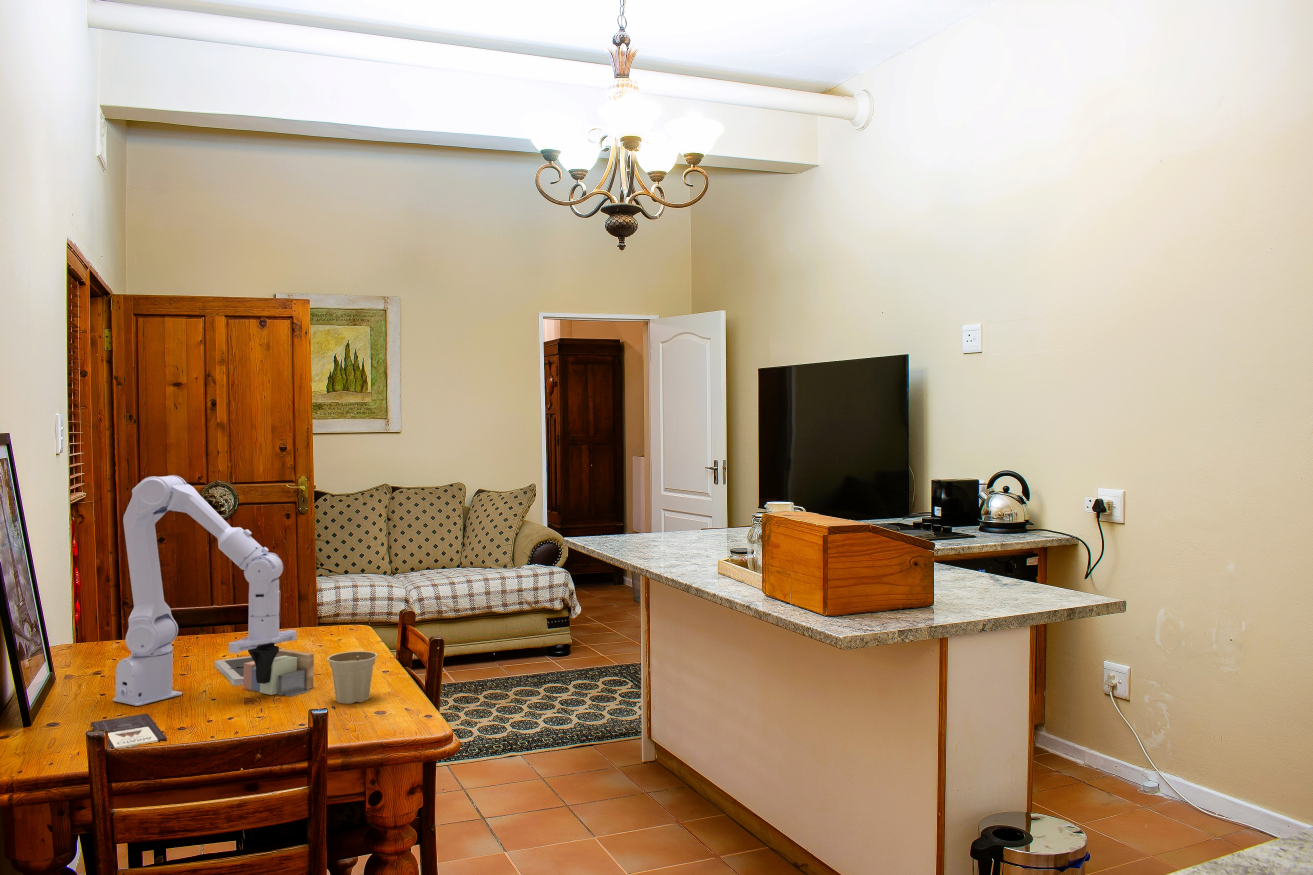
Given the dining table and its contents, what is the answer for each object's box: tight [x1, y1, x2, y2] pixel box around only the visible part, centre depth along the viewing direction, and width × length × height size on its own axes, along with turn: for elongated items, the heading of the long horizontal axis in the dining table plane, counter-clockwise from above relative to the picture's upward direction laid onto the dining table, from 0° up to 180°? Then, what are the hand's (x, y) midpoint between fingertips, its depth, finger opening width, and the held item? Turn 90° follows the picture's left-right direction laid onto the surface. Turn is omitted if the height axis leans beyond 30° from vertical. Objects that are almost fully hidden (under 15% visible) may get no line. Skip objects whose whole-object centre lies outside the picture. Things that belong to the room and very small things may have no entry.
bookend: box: [278, 669, 312, 698], centre depth 185 cm, size 6×3×4 cm, turn 152°
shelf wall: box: [275, 648, 315, 689], centre depth 191 cm, size 2×12×7 cm, turn 62°
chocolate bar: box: [90, 712, 168, 749], centre depth 158 cm, size 9×1×18 cm
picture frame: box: [214, 655, 254, 687], centre depth 203 cm, size 16×3×21 cm
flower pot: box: [326, 650, 378, 705], centre depth 180 cm, size 9×9×9 cm
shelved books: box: [242, 661, 260, 693], centre depth 189 cm, size 6×5×5 cm
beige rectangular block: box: [259, 656, 297, 696], centre depth 186 cm, size 6×4×6 cm, turn 153°
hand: (263, 682), depth 183 cm, fingers closed, pressing on beige rectangular block
